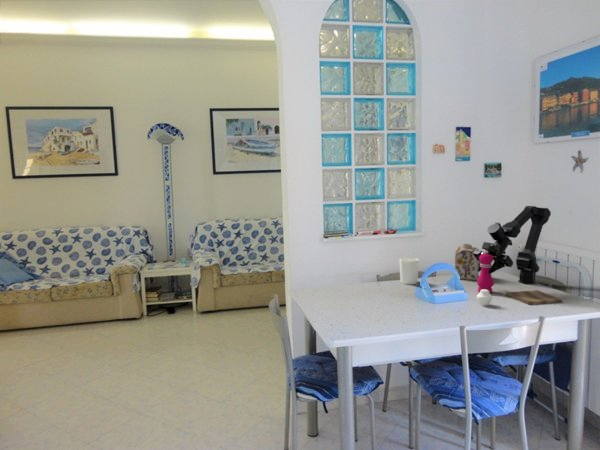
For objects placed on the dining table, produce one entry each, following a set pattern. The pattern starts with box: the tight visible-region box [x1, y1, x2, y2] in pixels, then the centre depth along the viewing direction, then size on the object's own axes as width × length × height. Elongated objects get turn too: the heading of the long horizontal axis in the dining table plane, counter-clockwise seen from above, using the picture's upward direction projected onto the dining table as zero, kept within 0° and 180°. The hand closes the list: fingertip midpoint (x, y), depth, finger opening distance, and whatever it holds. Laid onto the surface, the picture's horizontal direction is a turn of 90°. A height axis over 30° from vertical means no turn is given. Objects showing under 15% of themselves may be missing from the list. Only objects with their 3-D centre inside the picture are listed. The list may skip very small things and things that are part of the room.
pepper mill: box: [476, 249, 495, 294], centre depth 212 cm, size 7×7×20 cm
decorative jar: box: [454, 243, 480, 281], centre depth 242 cm, size 12×12×18 cm
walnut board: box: [505, 289, 563, 306], centre depth 201 cm, size 16×16×1 cm
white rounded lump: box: [476, 289, 493, 307], centre depth 193 cm, size 6×6×7 cm
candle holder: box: [398, 257, 420, 285], centre depth 234 cm, size 10×10×12 cm
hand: (483, 272), depth 212 cm, fingers open, 6 cm apart
